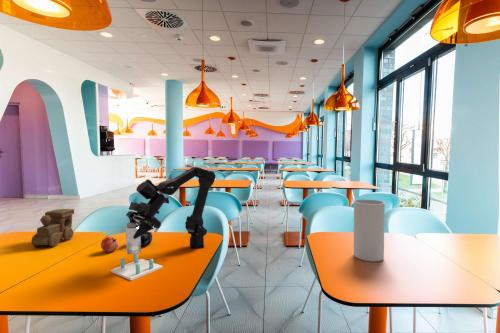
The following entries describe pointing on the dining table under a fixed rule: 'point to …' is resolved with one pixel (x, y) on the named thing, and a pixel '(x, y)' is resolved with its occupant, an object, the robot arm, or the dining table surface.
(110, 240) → the pomegranate
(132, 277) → the tray
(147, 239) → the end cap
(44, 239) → the wooden toy train
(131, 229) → the shaker
